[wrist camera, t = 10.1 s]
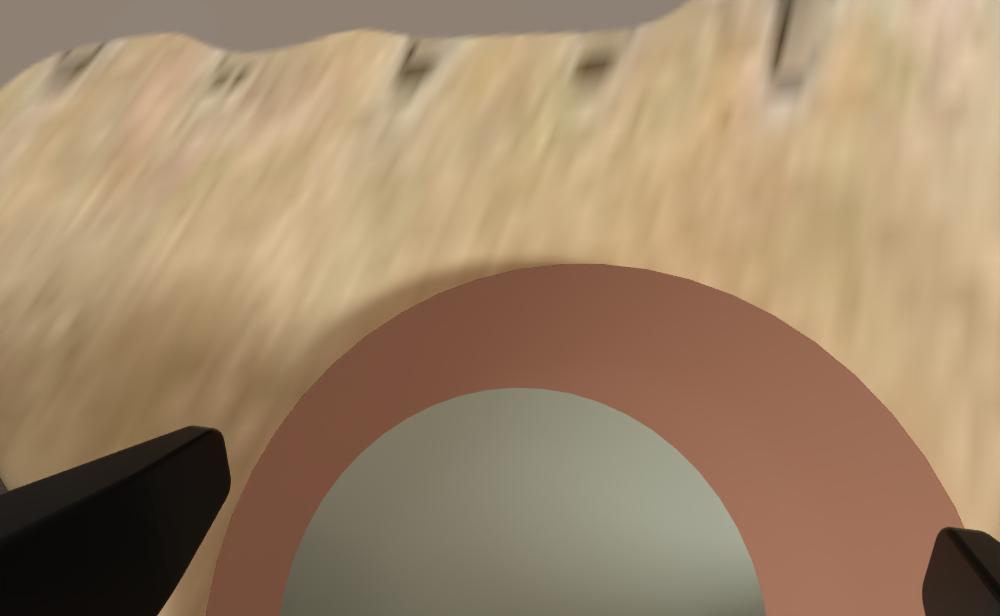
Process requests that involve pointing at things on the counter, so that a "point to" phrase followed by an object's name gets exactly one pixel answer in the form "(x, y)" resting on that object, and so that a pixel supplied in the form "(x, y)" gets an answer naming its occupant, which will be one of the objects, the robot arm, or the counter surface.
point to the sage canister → (521, 520)
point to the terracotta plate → (646, 398)
